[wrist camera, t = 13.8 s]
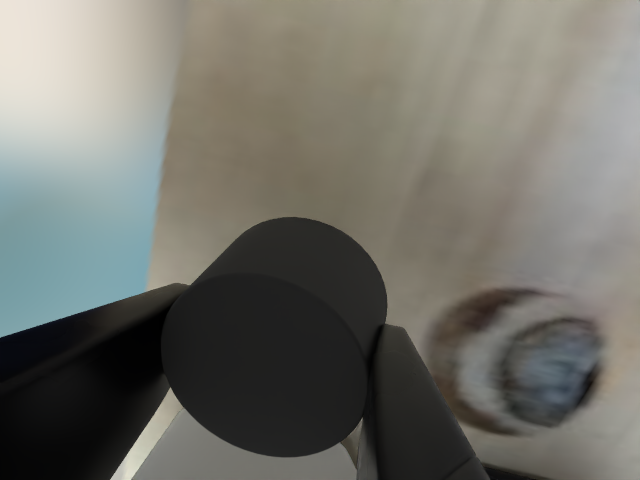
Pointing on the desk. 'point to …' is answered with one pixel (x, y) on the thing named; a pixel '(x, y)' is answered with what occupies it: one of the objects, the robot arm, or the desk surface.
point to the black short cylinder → (278, 338)
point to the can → (233, 459)
